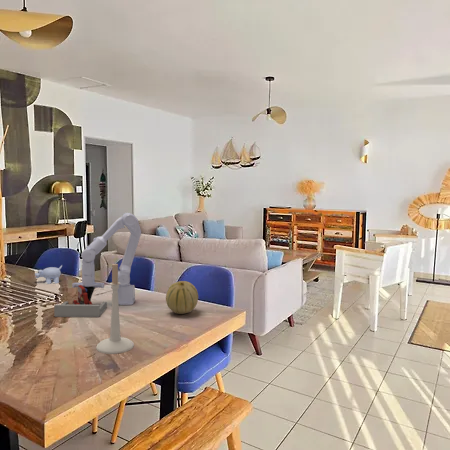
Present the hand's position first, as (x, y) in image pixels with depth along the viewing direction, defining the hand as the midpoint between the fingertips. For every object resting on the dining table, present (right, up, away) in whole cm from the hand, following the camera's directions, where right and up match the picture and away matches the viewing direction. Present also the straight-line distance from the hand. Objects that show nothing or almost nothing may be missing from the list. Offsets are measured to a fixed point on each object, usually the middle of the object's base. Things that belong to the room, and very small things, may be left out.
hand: (88, 302), depth 195 cm
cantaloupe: (+45, -3, -9) cm, 46 cm away
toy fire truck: (0, -2, -7) cm, 7 cm away
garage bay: (0, -2, -11) cm, 11 cm away
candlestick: (+26, -7, -50) cm, 57 cm away
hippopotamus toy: (-39, +3, +47) cm, 61 cm away
